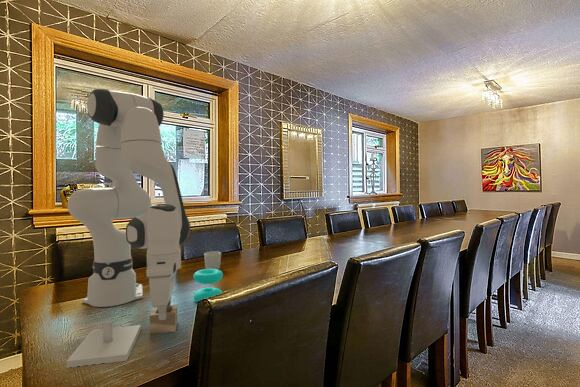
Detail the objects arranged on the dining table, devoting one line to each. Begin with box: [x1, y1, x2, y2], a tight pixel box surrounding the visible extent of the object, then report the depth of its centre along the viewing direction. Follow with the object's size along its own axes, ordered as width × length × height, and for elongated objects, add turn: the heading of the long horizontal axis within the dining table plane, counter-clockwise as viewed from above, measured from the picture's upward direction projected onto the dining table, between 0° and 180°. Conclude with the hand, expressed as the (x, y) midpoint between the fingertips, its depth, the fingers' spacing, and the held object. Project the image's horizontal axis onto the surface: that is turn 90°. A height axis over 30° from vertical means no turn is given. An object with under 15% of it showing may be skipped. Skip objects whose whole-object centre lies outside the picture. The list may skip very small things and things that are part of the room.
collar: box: [149, 304, 178, 335], centre depth 90 cm, size 6×6×5 cm
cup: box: [203, 250, 222, 270], centre depth 154 cm, size 11×8×8 cm
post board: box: [65, 320, 142, 369], centre depth 79 cm, size 16×12×6 cm
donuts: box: [192, 268, 224, 303], centre depth 112 cm, size 10×10×10 cm
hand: (165, 312), depth 89 cm, fingers open, 8 cm apart
